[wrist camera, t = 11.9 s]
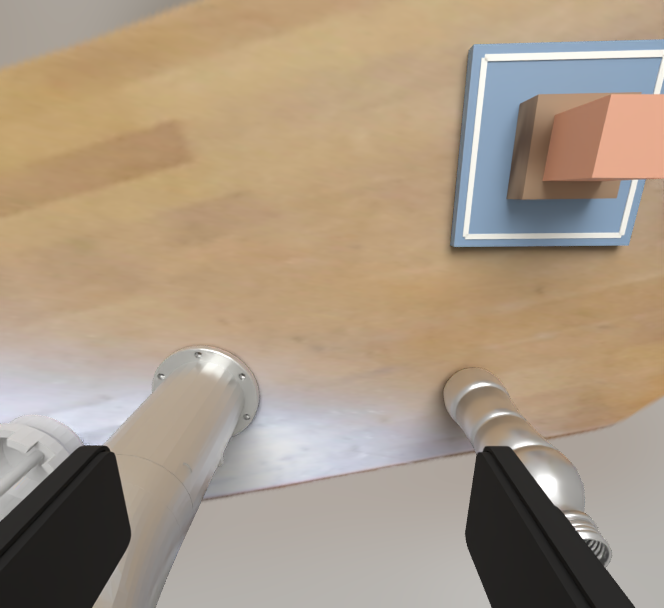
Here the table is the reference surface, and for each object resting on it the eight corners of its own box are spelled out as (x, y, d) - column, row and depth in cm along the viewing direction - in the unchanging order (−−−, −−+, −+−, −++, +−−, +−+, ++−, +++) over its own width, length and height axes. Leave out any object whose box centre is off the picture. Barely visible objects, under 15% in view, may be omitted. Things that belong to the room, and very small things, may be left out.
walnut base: (592, 197, 32) (616, 198, 29) (506, 199, 32) (522, 199, 29) (612, 101, 29) (641, 92, 27) (519, 103, 30) (538, 94, 27)
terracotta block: (601, 181, 29) (666, 178, 23) (542, 180, 29) (591, 177, 23) (618, 115, 27) (691, 94, 21) (554, 115, 27) (611, 94, 22)
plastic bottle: (426, 387, 40) (503, 561, 21) (470, 349, 38) (596, 501, 19) (463, 418, 41) (567, 610, 22) (507, 382, 40) (660, 557, 21)
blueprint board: (619, 243, 34) (629, 245, 33) (450, 245, 35) (454, 247, 34) (668, 45, 29) (683, 38, 28) (468, 50, 30) (474, 44, 28)
